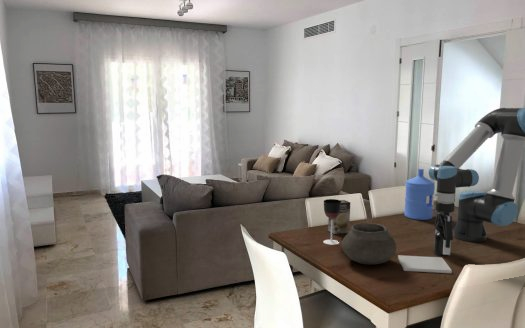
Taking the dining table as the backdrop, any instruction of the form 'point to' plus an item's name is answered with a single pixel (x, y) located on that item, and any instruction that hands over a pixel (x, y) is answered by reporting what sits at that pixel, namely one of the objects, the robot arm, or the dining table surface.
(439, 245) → the supplement bottle
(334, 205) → the wineglass
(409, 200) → the water jug
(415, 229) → the dining table surface
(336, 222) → the coffee box
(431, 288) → the dining table surface
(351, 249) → the clay pot
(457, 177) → the robot arm
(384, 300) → the dining table surface
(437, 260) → the stone board
